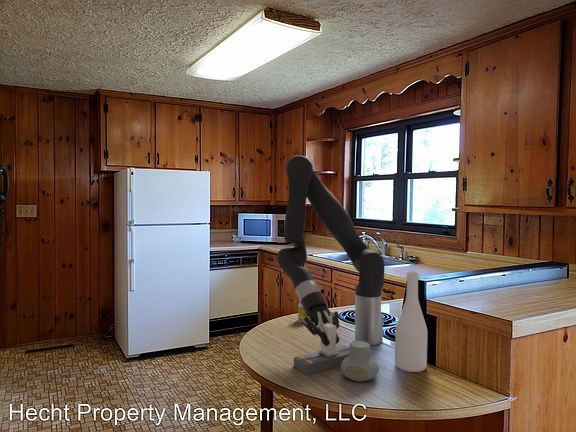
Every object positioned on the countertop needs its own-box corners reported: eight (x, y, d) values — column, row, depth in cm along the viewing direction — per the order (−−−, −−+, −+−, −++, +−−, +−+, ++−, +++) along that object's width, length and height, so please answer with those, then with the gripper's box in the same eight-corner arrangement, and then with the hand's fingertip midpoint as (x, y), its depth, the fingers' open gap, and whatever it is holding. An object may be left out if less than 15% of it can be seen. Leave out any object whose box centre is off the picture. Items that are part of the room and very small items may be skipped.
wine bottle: (427, 363, 138) (429, 269, 136) (425, 375, 129) (428, 275, 127) (396, 359, 141) (398, 267, 140) (393, 370, 133) (395, 273, 131)
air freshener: (380, 375, 129) (381, 342, 129) (374, 386, 122) (375, 351, 121) (345, 368, 134) (345, 337, 133) (337, 379, 126) (337, 346, 126)
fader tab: (328, 349, 141) (328, 322, 140) (338, 354, 137) (338, 326, 136) (318, 351, 139) (318, 324, 138) (328, 356, 134) (328, 328, 134)
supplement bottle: (305, 318, 185) (306, 296, 185) (313, 321, 181) (313, 298, 180) (295, 320, 183) (295, 297, 182) (302, 323, 178) (303, 300, 177)
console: (344, 353, 146) (344, 344, 145) (357, 361, 140) (358, 351, 140) (293, 366, 135) (293, 356, 135) (306, 374, 129) (306, 364, 129)
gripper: (297, 293, 139) (319, 342, 130) (332, 288, 147) (355, 334, 137) (288, 305, 144) (309, 353, 134) (322, 300, 151) (344, 345, 142)
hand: (332, 343), depth 136 cm, fingers closed on fader tab, 3 cm apart
